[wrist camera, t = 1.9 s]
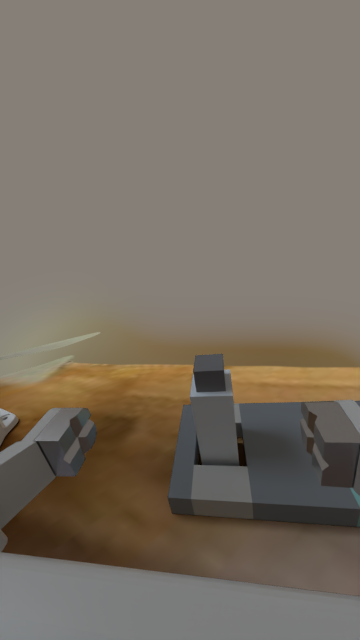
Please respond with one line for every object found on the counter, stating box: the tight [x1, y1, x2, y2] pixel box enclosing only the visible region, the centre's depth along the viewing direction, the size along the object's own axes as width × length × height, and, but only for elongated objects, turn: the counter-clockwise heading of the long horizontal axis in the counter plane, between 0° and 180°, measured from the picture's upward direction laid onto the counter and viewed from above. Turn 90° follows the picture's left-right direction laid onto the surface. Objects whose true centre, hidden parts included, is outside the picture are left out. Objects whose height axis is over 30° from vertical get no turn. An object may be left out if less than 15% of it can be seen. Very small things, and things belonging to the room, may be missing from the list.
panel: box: [168, 401, 360, 527], centre depth 25 cm, size 24×12×2 cm, turn 82°
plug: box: [190, 354, 239, 466], centre depth 24 cm, size 4×4×13 cm
